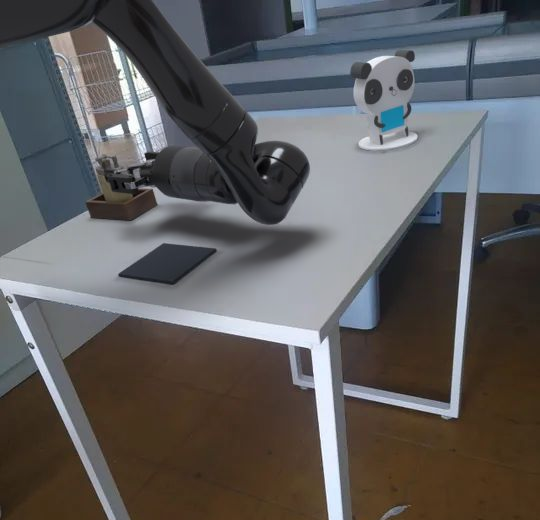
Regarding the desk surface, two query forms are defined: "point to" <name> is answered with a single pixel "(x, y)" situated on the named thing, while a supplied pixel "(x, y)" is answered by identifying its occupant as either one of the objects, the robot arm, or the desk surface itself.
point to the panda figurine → (385, 99)
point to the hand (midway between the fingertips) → (127, 166)
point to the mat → (167, 263)
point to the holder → (122, 206)
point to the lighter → (106, 186)
